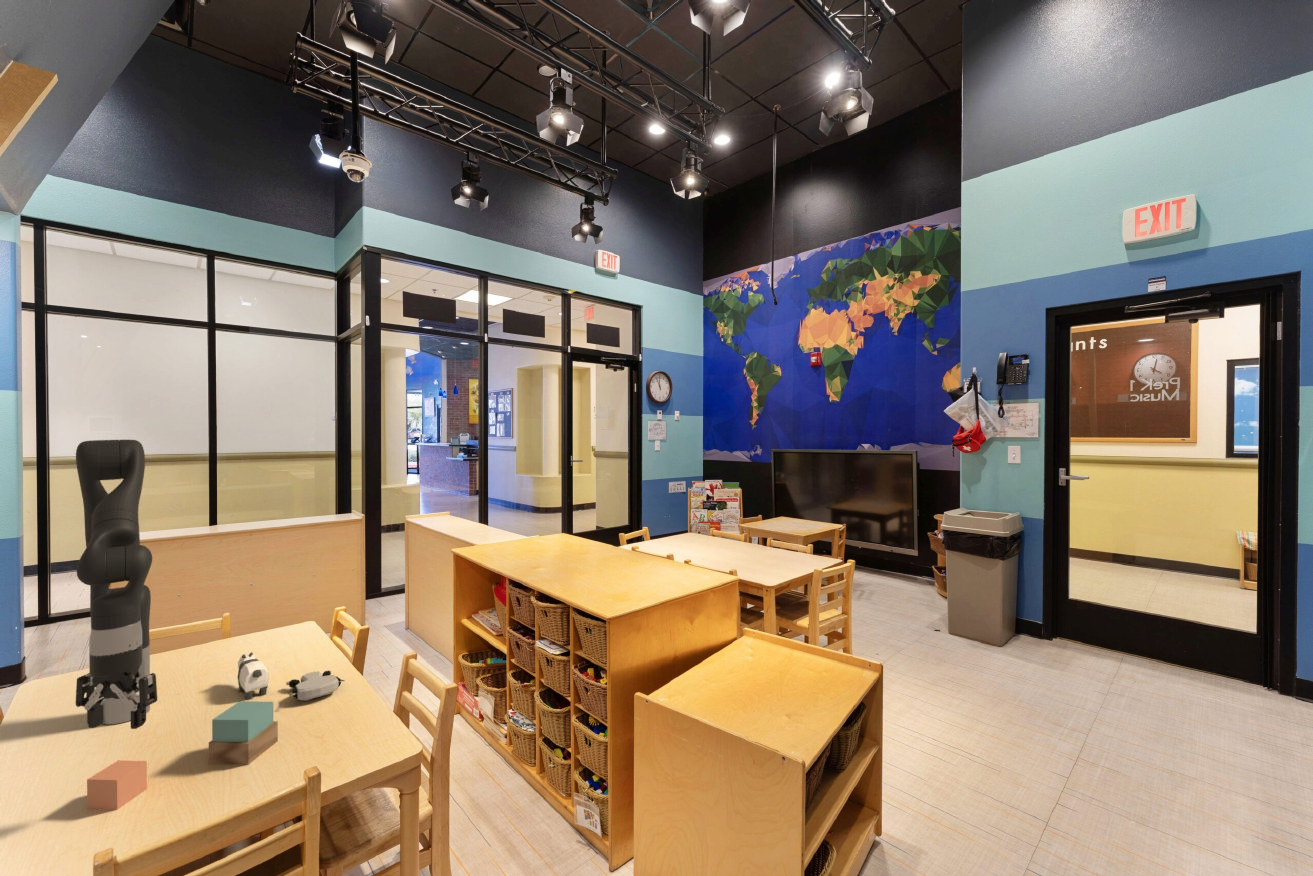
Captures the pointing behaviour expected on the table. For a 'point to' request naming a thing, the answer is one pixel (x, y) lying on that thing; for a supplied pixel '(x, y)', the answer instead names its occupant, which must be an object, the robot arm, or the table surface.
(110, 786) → the terracotta cube
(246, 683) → the giant panda
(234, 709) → the tower top
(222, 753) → the tower base
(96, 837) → the table surface
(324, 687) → the robot toy
